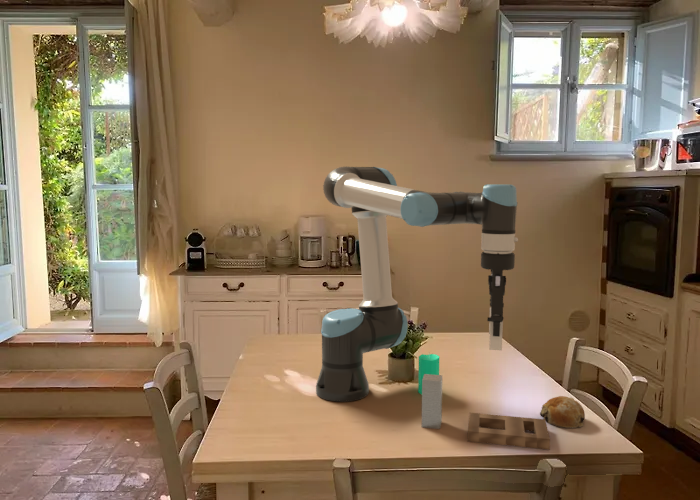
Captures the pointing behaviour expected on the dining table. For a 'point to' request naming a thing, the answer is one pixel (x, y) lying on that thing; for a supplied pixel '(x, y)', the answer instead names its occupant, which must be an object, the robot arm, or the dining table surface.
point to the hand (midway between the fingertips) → (495, 341)
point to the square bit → (431, 401)
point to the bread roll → (563, 412)
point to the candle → (427, 367)
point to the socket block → (508, 431)
